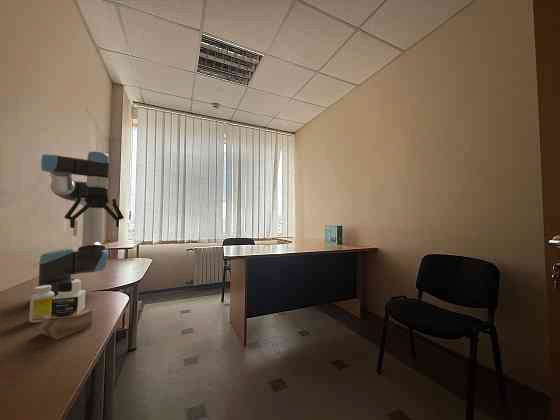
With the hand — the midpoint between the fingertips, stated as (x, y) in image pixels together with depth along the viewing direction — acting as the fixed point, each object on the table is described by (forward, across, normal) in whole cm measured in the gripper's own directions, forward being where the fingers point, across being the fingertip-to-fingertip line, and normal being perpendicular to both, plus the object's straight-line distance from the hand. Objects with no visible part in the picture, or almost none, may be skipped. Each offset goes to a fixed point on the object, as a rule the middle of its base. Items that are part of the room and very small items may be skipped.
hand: (95, 235), depth 100 cm
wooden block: (+33, -10, -15) cm, 37 cm away
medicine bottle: (+27, -10, -15) cm, 32 cm away
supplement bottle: (+33, -15, +4) cm, 36 cm away
